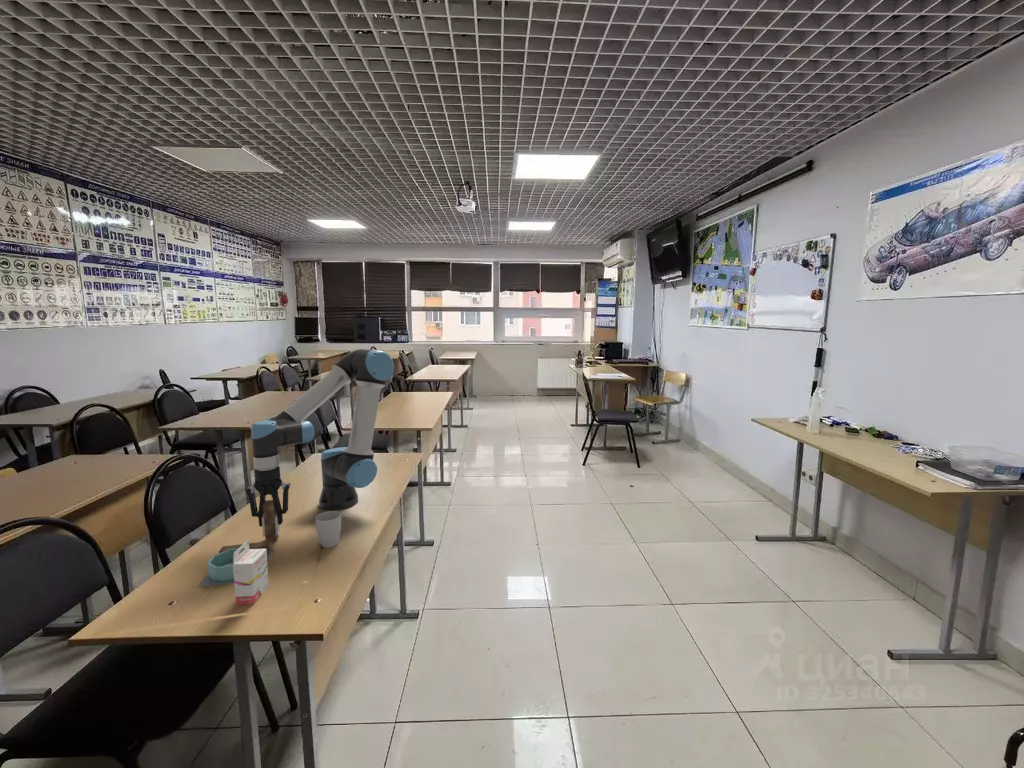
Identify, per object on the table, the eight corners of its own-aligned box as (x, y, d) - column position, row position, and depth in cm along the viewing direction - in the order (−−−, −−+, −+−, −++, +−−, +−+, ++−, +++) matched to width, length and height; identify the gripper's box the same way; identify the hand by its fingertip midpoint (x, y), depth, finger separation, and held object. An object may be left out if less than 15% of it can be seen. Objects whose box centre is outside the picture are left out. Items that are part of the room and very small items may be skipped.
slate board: (274, 551, 145) (274, 549, 145) (258, 581, 128) (257, 579, 128) (222, 557, 142) (222, 555, 141) (198, 589, 124) (198, 587, 124)
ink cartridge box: (255, 606, 116) (251, 553, 115) (235, 607, 116) (230, 553, 114) (270, 587, 125) (266, 537, 123) (251, 588, 125) (247, 538, 123)
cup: (347, 540, 152) (346, 512, 151) (331, 551, 145) (329, 522, 144) (328, 537, 155) (327, 509, 154) (311, 548, 147) (309, 519, 146)
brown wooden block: (278, 538, 154) (275, 499, 153) (276, 542, 151) (273, 503, 150) (268, 539, 154) (265, 500, 152) (265, 543, 150) (262, 504, 149)
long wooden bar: (272, 550, 145) (271, 541, 144) (269, 555, 142) (268, 545, 141) (223, 556, 141) (222, 546, 141) (219, 561, 138) (218, 551, 138)
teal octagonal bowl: (259, 558, 139) (258, 545, 139) (248, 578, 128) (247, 564, 128) (218, 563, 137) (217, 550, 136) (203, 584, 126) (202, 569, 125)
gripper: (295, 462, 155) (300, 526, 158) (243, 466, 151) (248, 532, 154) (291, 468, 148) (295, 536, 150) (235, 472, 144) (241, 542, 146)
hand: (271, 533), depth 152 cm, fingers closed on brown wooden block, 3 cm apart
